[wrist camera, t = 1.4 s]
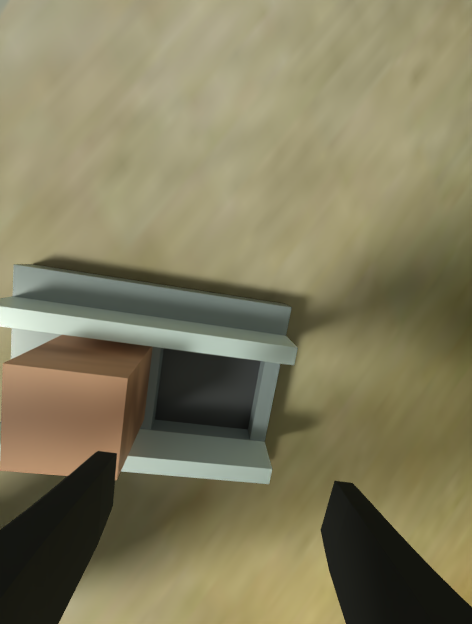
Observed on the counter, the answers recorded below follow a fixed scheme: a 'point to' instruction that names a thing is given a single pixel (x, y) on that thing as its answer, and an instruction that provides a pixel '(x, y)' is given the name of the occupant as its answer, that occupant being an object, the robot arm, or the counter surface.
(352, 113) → the counter surface
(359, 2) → the counter surface
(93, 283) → the channel
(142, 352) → the cube
